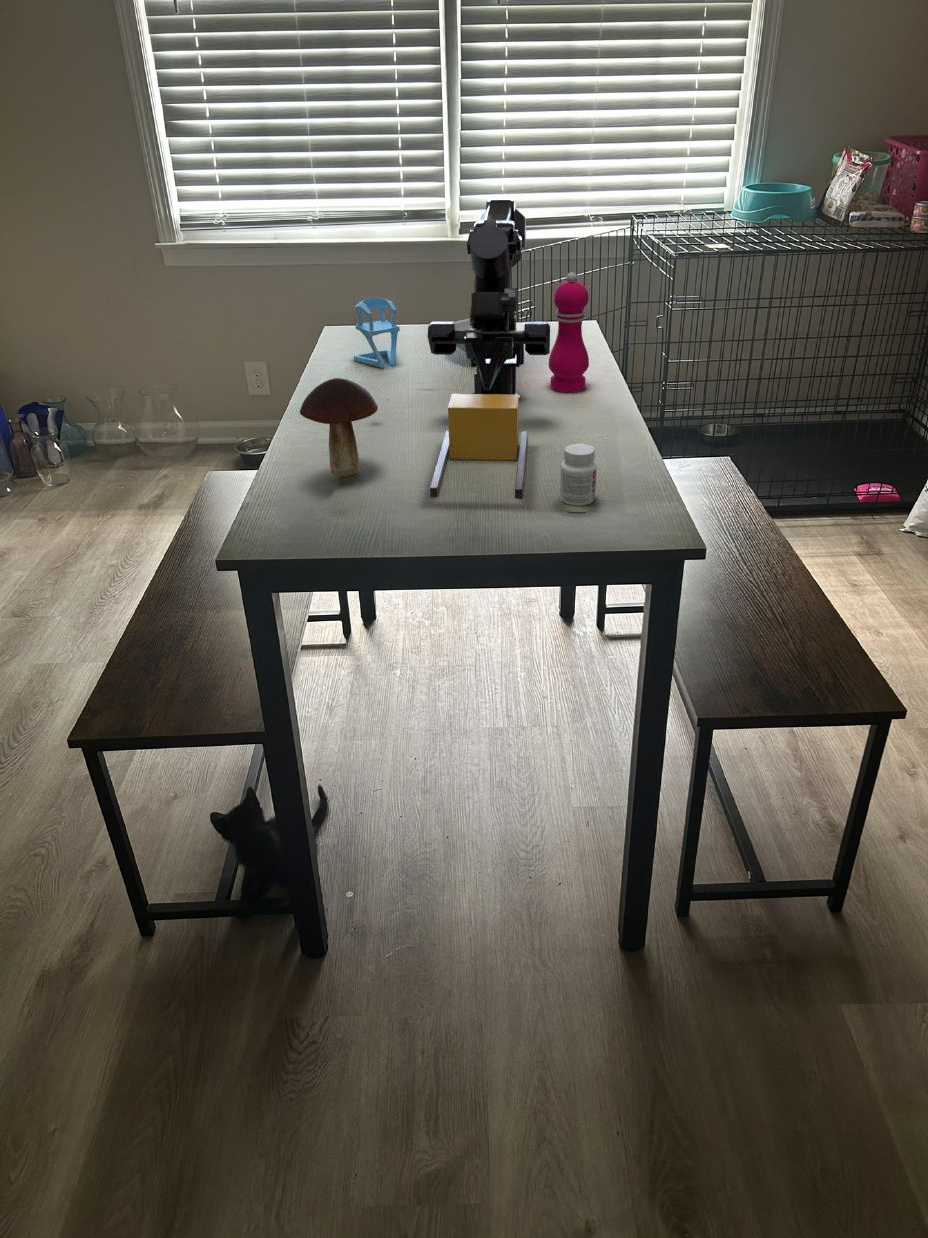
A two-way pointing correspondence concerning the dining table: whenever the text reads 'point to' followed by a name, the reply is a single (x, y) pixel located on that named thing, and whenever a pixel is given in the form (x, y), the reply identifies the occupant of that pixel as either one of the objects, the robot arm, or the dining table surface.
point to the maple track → (444, 457)
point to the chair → (377, 331)
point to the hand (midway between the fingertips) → (487, 388)
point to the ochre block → (483, 426)
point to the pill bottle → (578, 475)
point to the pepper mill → (569, 337)
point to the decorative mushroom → (340, 419)
